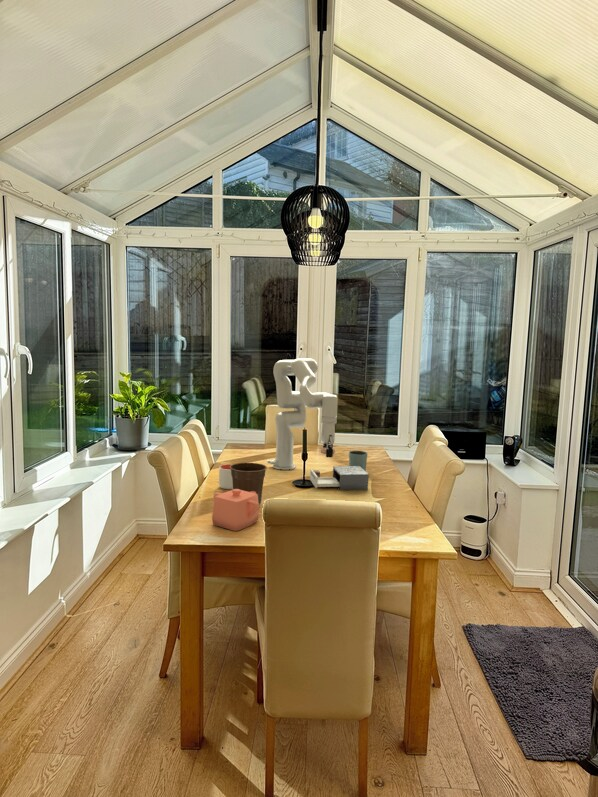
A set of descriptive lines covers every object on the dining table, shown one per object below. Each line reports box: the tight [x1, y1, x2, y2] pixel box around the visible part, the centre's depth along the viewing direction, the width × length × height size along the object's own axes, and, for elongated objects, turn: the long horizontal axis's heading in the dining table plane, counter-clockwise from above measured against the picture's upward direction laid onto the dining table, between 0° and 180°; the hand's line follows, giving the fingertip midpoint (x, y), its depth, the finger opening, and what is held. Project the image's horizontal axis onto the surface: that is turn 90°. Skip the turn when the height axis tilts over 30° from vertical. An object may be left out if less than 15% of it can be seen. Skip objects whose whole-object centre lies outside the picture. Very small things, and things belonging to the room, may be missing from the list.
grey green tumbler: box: [348, 450, 368, 472], centre depth 296 cm, size 10×10×12 cm
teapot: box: [211, 489, 260, 532], centre depth 216 cm, size 20×22×14 cm
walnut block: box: [312, 469, 321, 478], centre depth 283 cm, size 4×4×4 cm
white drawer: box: [309, 468, 340, 489], centre depth 271 cm, size 13×15×6 cm
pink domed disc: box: [320, 446, 336, 455], centre depth 269 cm, size 7×7×2 cm
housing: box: [332, 465, 370, 491], centre depth 273 cm, size 14×16×8 cm
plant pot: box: [230, 462, 268, 505], centre depth 241 cm, size 16×16×16 cm
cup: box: [218, 464, 233, 490], centre depth 263 cm, size 10×10×10 cm
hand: (327, 455), depth 269 cm, fingers closed on pink domed disc, 7 cm apart
